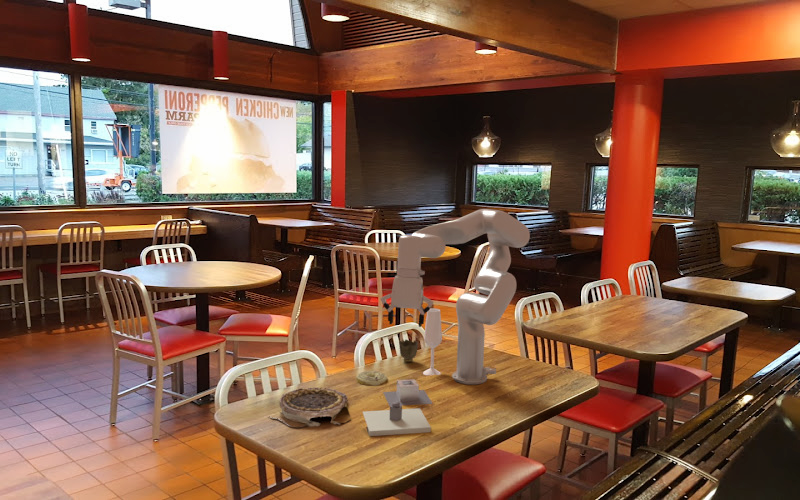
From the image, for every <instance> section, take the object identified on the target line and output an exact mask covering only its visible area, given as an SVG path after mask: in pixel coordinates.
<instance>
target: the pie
mask: <svg viewBox="0 0 800 500" xmlns="http://www.w3.org/2000/svg"><path fill="white" fill-rule="evenodd" d="M348 401H349V400H348V395H347V394H345V393H343V392H340V391H338V390H336V389H332V388H324V387H307V388H298V389H294V390H291V391H288V392H287V393H285V394H283V395H282V396H281V398H279V400H278V403H279V407H280V409H281V411H280V415H282V417H283V418H286V419H287V420H290V421H292V422H296V423H303V424H304V425H302V426H297V427H295V426H294V428H296V429H297V428H299V427H300V428H303V427H306V426H307V427H309V428H310V427H311V428H312V427H319V426H320V425H321V422H317V421H312V420H311V419H312V418H314V419H315V418H318V417H320V418H322V417H323V418H324V417H331V419H330V423H331V424H333V425H341V424H345V423H347V422H348V420H345V422H339V421H334V420H335V419H336V417H337V415H338V414H339V413H340V412H341V411H342V409H343V408H344V407H345V406H346V404H347V402H348ZM272 417H273V416H270V417H269V418H270V419H273V418H272ZM277 418H278V417H274V419H275V420H278V421H280V422H282V421H283V420H282V419H281V418H278V419H277ZM280 419H281V420H280ZM282 423H284V424H285V425H286V426H288V427H291V425H290V424H289V423H286V422H284V421H283V422H282Z"/></svg>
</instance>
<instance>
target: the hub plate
mask: <svg viewBox="0 0 800 500" xmlns="http://www.w3.org/2000/svg"><path fill="white" fill-rule="evenodd" d="M362 415H363V417H364V420H365V424H366V427H365V428H366V431H367V434H368V436H369V437H379V436H391V435H392V436H394V435H405V434H407V435H408V434H420V433H421V434H422V433H424V434H425V433H431V430H432V427H431V425H430V423H429V422H428V420H427V418H426V416H425V415H424V413H423V411H422V409H421V407H418V408H416V407H415V408H403V406H400V403H399V402H393V403H392V406H389V409H385V410H384V409H383V410H370V411H369V410H367V411H362Z"/></svg>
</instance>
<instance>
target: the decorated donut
mask: <svg viewBox="0 0 800 500" xmlns="http://www.w3.org/2000/svg"><path fill="white" fill-rule="evenodd" d="M355 379H356V382H357V383H359V384H361V385H365V386H366V385H367V386H379V385H383V384H385V383H387V380H388V377H387V375H386V374H384V373H382V372H380V371H374V370H366V371H362V372H360V373H358V374H357V375H356V377H355Z"/></svg>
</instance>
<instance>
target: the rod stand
mask: <svg viewBox="0 0 800 500" xmlns="http://www.w3.org/2000/svg"><path fill="white" fill-rule="evenodd" d="M382 393H383V395H384V397H385V400H386V402H387V404H388V406H389V407H390V406H392V403H393V402H399V403H400V406H402V407H404V406H415V405H416V406H418V405H432V404H433V402H432V399H430V397H429V396H428V393H426V391H425V389H419V399H418V401H404V402H400V400H399V399H398V397H397V390H396V391H382Z"/></svg>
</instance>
